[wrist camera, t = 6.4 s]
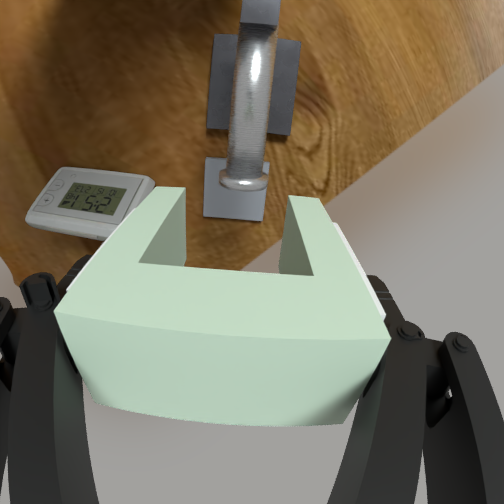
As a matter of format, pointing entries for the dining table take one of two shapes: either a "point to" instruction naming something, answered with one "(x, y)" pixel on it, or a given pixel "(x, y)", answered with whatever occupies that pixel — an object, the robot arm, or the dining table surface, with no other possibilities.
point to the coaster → (230, 195)
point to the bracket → (223, 324)
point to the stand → (252, 91)
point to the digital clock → (88, 201)
